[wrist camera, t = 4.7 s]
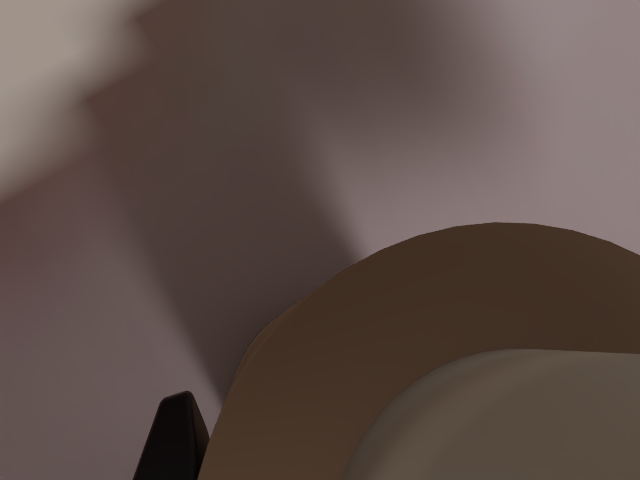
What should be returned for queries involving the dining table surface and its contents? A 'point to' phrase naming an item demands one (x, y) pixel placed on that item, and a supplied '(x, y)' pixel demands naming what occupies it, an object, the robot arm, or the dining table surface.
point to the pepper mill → (447, 366)
